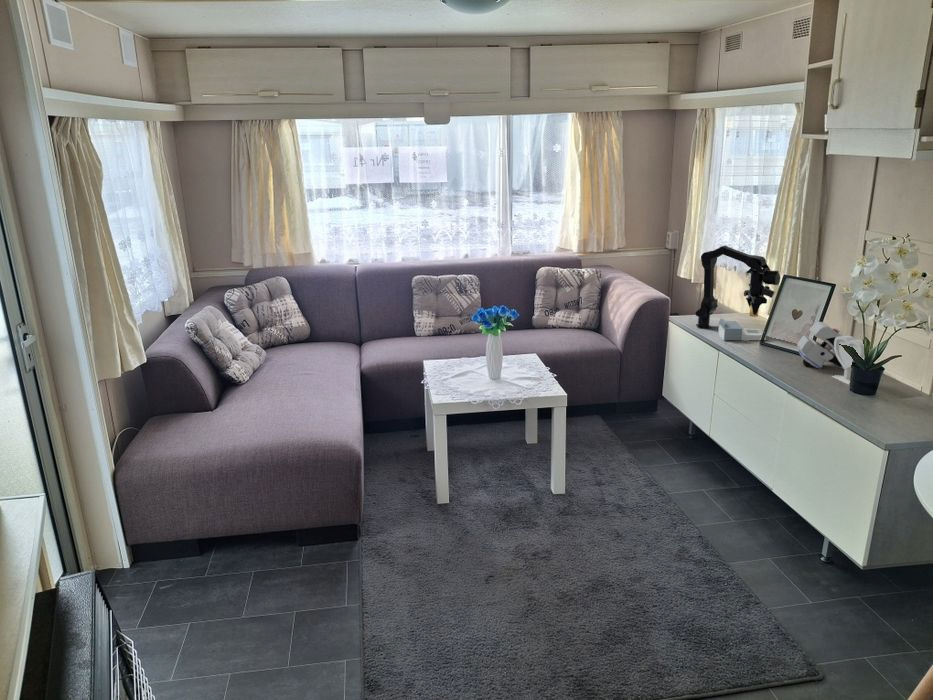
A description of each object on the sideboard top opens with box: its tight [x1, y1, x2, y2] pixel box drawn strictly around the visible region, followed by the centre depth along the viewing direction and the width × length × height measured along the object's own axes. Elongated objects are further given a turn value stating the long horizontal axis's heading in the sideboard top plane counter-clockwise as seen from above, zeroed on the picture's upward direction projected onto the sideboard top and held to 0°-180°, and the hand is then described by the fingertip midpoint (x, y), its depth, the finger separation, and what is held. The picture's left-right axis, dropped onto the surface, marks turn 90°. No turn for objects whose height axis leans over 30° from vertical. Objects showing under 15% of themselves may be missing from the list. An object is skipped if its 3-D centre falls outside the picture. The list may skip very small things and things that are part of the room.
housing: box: [717, 323, 764, 341], centre depth 352 cm, size 12×20×5 cm, turn 83°
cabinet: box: [717, 317, 743, 341], centre depth 352 cm, size 14×8×8 cm, turn 173°
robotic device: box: [796, 321, 845, 370], centre depth 307 cm, size 10×21×20 cm
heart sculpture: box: [831, 335, 865, 386], centre depth 289 cm, size 16×5×18 cm, turn 12°
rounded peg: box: [748, 305, 760, 318], centre depth 352 cm, size 4×4×5 cm
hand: (753, 313), depth 352 cm, fingers closed on rounded peg, 4 cm apart
